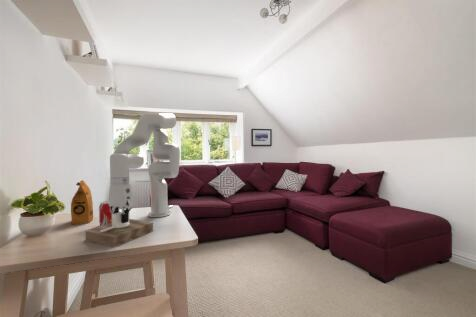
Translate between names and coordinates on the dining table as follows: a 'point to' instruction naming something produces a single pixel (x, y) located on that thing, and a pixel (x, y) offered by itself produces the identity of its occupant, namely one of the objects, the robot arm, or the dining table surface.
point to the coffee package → (82, 205)
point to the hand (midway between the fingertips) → (120, 221)
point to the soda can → (105, 213)
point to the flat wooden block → (119, 233)
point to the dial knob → (117, 222)
